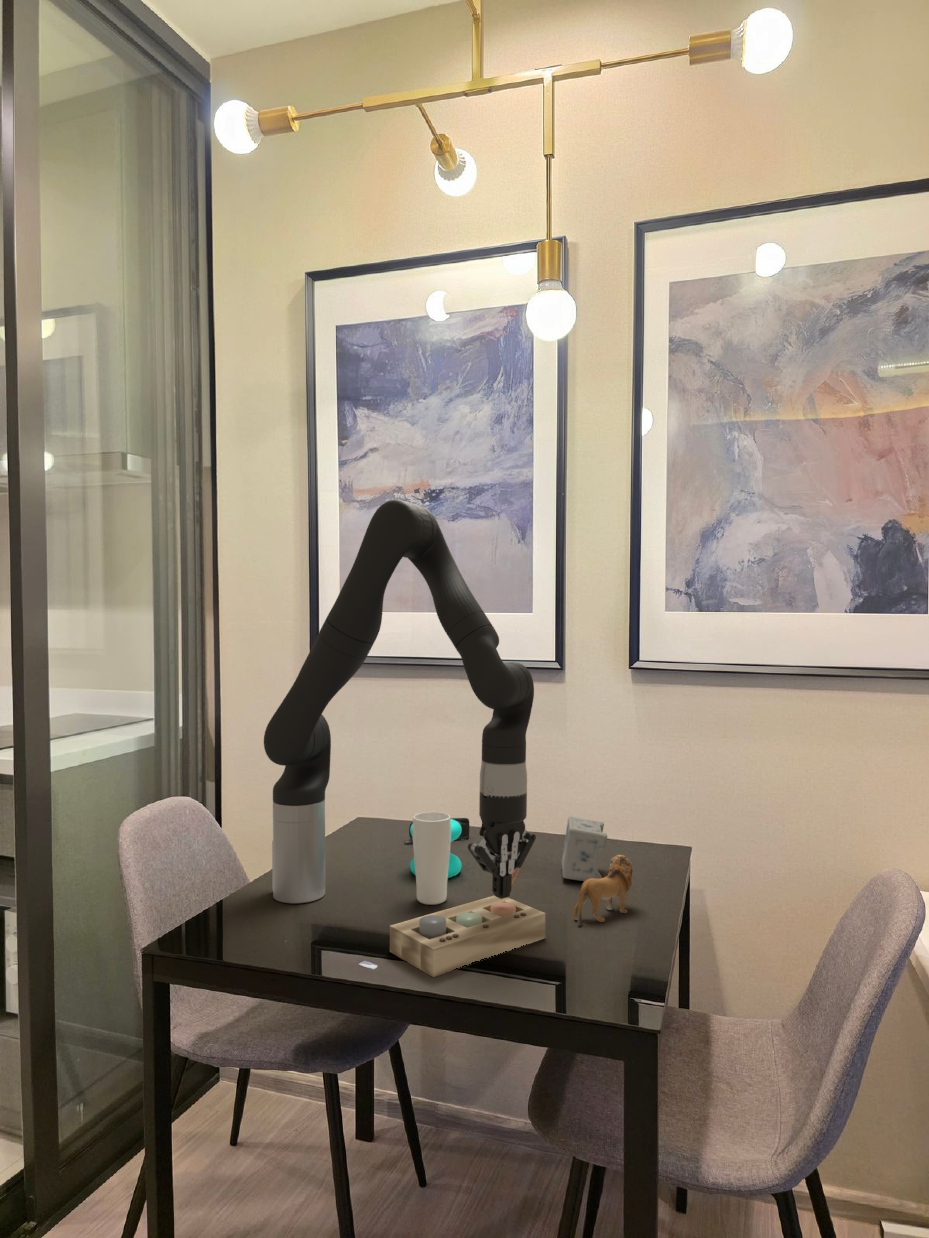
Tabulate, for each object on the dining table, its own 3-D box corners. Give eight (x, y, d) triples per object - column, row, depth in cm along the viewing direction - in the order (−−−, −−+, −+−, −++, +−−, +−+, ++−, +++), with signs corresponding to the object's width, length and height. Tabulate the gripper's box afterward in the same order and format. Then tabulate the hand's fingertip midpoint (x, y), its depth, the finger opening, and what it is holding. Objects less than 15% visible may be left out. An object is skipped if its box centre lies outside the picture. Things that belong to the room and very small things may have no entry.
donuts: (406, 828, 161) (414, 814, 171) (406, 880, 161) (414, 864, 171) (458, 829, 160) (464, 816, 170) (458, 882, 160) (463, 865, 170)
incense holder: (607, 885, 159) (607, 830, 159) (562, 884, 160) (562, 829, 159) (603, 868, 169) (603, 816, 168) (560, 867, 169) (561, 815, 169)
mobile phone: (467, 815, 192) (402, 819, 187) (471, 818, 189) (406, 822, 184) (466, 837, 192) (401, 841, 187) (471, 841, 189) (405, 845, 184)
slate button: (414, 939, 127) (414, 919, 127) (435, 932, 130) (435, 913, 130) (430, 947, 124) (430, 927, 124) (451, 940, 127) (451, 921, 127)
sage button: (450, 935, 132) (450, 916, 132) (470, 929, 134) (470, 910, 134) (467, 943, 129) (467, 924, 129) (487, 937, 131) (487, 917, 131)
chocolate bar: (499, 886, 159) (499, 874, 159) (509, 866, 171) (509, 855, 171) (513, 887, 159) (513, 875, 159) (522, 867, 171) (522, 856, 171)
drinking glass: (417, 909, 147) (417, 822, 146) (409, 895, 153) (409, 812, 153) (455, 905, 148) (455, 819, 148) (445, 892, 155) (445, 810, 154)
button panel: (389, 951, 129) (389, 924, 129) (499, 917, 143) (499, 892, 143) (433, 977, 120) (433, 947, 120) (545, 938, 134) (545, 911, 134)
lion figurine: (613, 899, 151) (613, 849, 151) (639, 907, 148) (640, 855, 148) (565, 923, 140) (565, 869, 140) (592, 931, 137) (593, 876, 137)
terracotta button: (485, 924, 136) (485, 905, 136) (504, 918, 139) (504, 900, 139) (502, 932, 133) (502, 913, 133) (520, 926, 136) (520, 907, 136)
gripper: (518, 779, 142) (516, 881, 143) (456, 789, 134) (454, 898, 135) (549, 787, 137) (548, 894, 137) (486, 799, 128) (485, 913, 129)
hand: (501, 896), depth 136 cm, fingers closed
